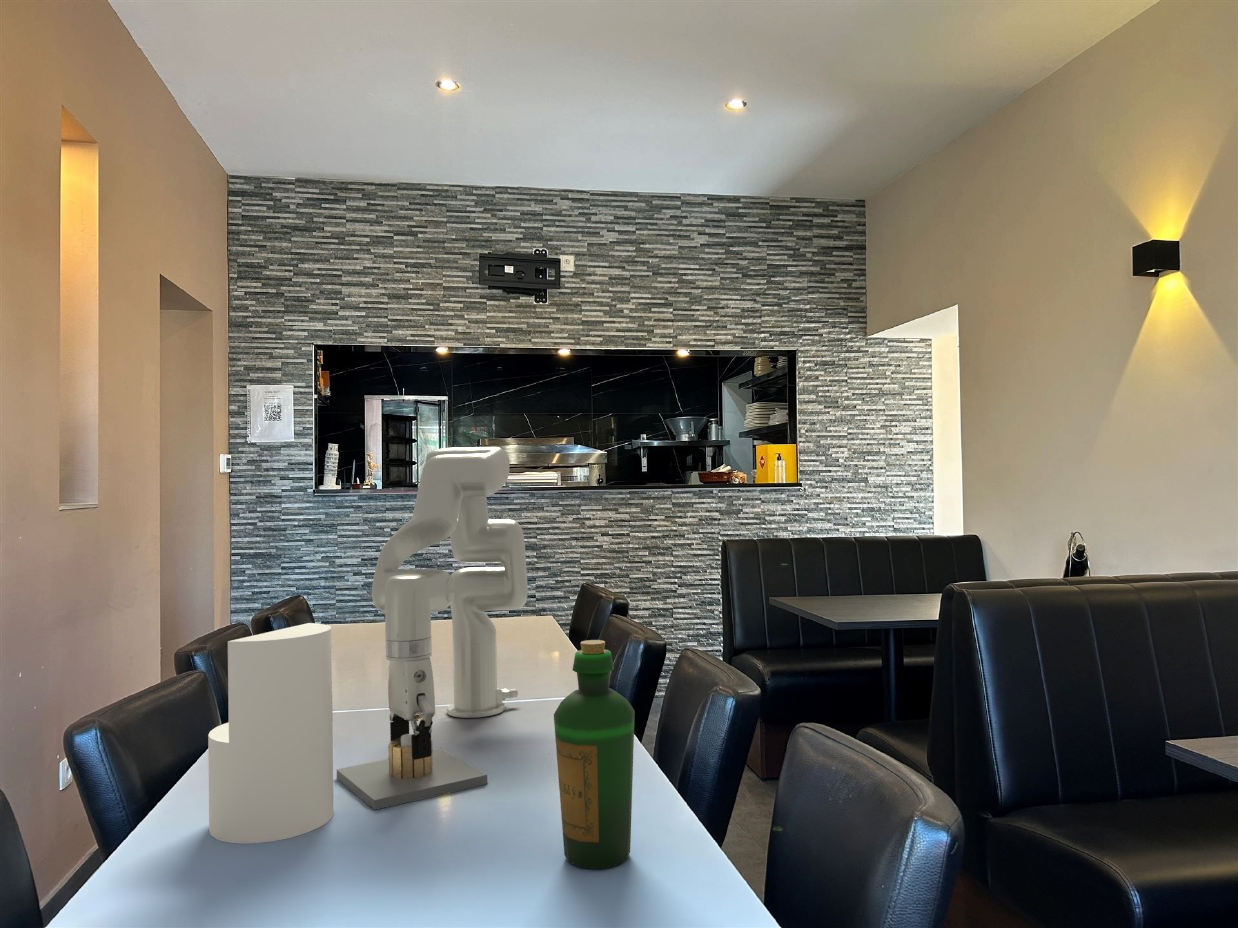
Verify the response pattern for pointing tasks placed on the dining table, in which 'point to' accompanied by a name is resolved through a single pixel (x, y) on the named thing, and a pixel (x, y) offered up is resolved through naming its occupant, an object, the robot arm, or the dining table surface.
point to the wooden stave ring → (407, 762)
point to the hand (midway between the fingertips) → (410, 750)
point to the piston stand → (389, 791)
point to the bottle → (595, 763)
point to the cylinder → (274, 738)
